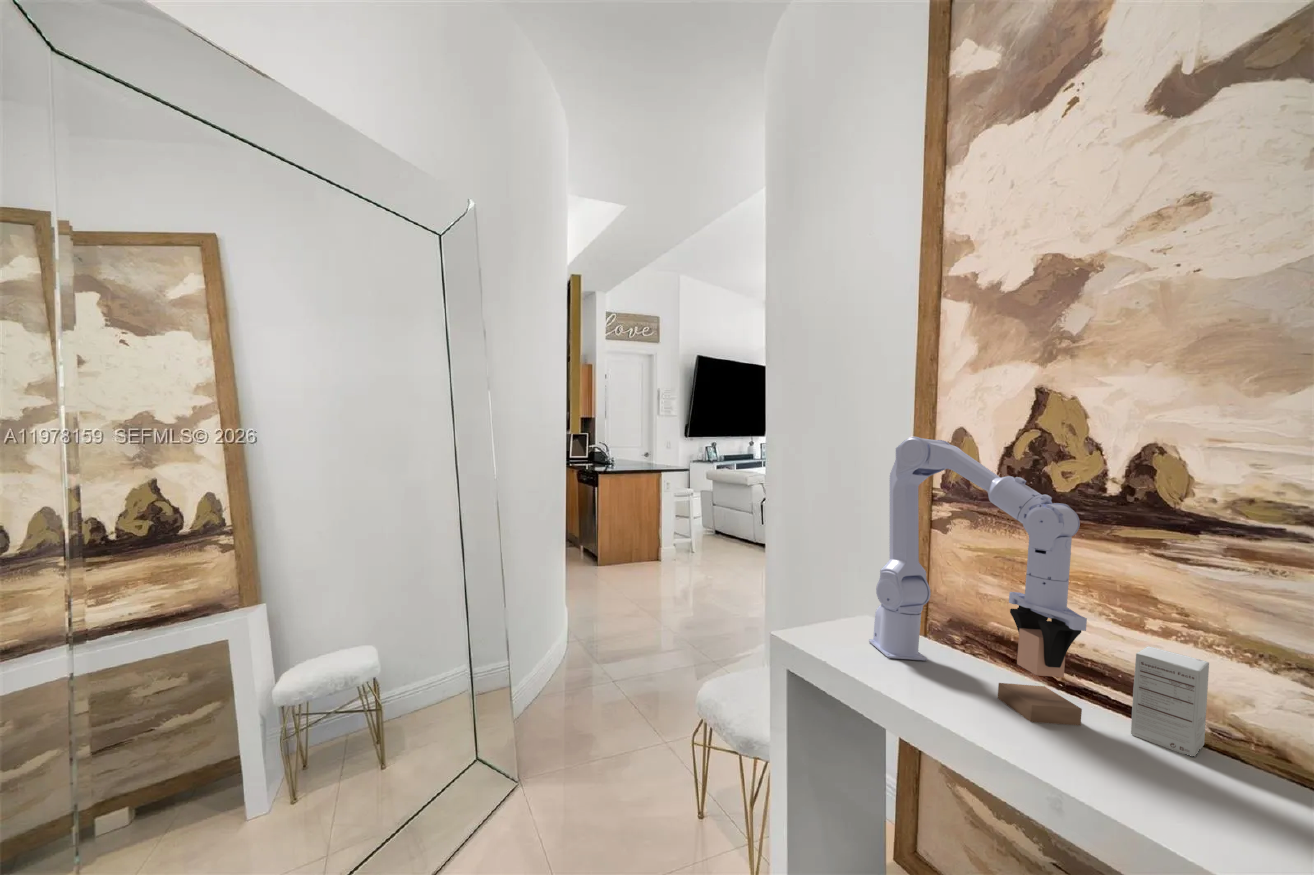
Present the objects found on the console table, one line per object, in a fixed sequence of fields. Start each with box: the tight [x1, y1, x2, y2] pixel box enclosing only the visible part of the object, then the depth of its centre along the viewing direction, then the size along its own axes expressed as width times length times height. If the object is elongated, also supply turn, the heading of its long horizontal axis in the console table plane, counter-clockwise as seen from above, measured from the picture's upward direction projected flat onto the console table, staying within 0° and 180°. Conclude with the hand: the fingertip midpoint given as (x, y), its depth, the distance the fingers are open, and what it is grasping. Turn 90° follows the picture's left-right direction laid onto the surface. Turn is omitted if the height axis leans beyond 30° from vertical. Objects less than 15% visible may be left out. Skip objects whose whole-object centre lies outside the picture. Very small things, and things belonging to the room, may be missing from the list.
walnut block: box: [997, 682, 1083, 726], centre depth 90 cm, size 8×8×3 cm
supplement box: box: [1130, 646, 1210, 757], centre depth 84 cm, size 7×7×13 cm
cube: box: [1016, 628, 1066, 678], centre depth 90 cm, size 4×4×6 cm
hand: (1041, 660), depth 90 cm, fingers closed on cube, 4 cm apart
